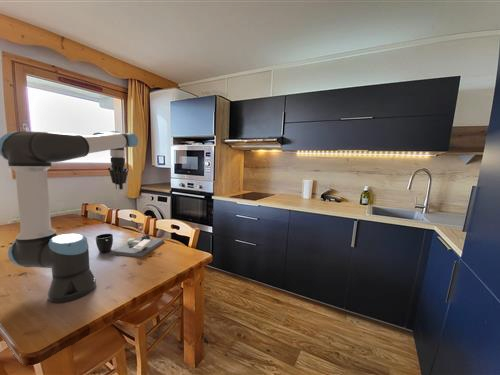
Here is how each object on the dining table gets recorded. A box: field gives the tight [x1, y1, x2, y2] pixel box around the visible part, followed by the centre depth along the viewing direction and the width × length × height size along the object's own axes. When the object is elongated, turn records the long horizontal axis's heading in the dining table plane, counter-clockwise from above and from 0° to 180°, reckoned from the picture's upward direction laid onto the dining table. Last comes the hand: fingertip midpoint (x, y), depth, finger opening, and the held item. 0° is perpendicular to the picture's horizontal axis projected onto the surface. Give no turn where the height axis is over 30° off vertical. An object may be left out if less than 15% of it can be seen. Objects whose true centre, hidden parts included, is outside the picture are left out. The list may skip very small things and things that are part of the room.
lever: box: [138, 226, 147, 239], centre depth 136 cm, size 3×3×9 cm
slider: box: [132, 240, 141, 247], centre depth 126 cm, size 2×4×3 cm, turn 81°
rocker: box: [133, 239, 151, 251], centre depth 122 cm, size 10×4×2 cm, turn 171°
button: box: [126, 237, 136, 245], centre depth 130 cm, size 4×4×2 cm
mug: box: [95, 233, 114, 254], centre depth 122 cm, size 8×12×10 cm
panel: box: [112, 234, 165, 258], centre depth 129 cm, size 23×18×5 cm
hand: (119, 194), depth 132 cm, fingers closed
